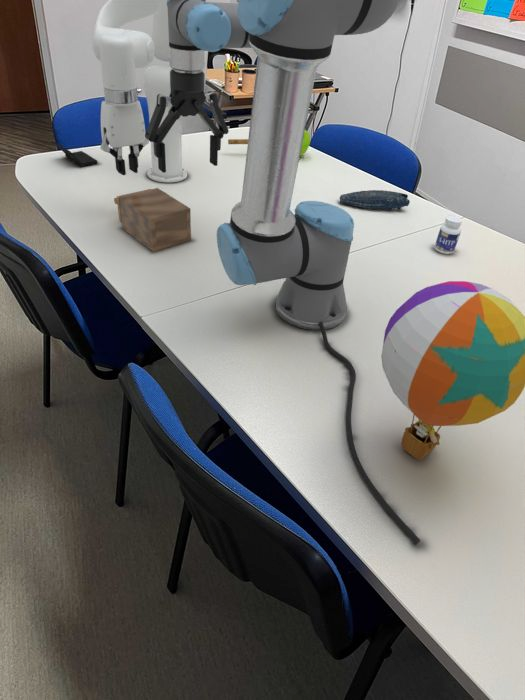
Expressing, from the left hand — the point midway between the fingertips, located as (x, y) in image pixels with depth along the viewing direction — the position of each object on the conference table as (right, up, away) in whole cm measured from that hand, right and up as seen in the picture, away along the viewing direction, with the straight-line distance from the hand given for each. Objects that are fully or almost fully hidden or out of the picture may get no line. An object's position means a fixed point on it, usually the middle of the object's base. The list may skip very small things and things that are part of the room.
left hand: (127, 171), depth 134 cm
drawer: (+3, -12, +3) cm, 13 cm away
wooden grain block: (+7, -16, +1) cm, 18 cm away
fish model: (+69, -2, +26) cm, 74 cm away
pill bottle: (+84, -19, +6) cm, 86 cm away
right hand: (+17, -2, -8) cm, 19 cm away
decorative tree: (+37, +25, +55) cm, 71 cm away
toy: (+60, -63, -51) cm, 100 cm away
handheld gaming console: (-26, +16, +37) cm, 48 cm away
